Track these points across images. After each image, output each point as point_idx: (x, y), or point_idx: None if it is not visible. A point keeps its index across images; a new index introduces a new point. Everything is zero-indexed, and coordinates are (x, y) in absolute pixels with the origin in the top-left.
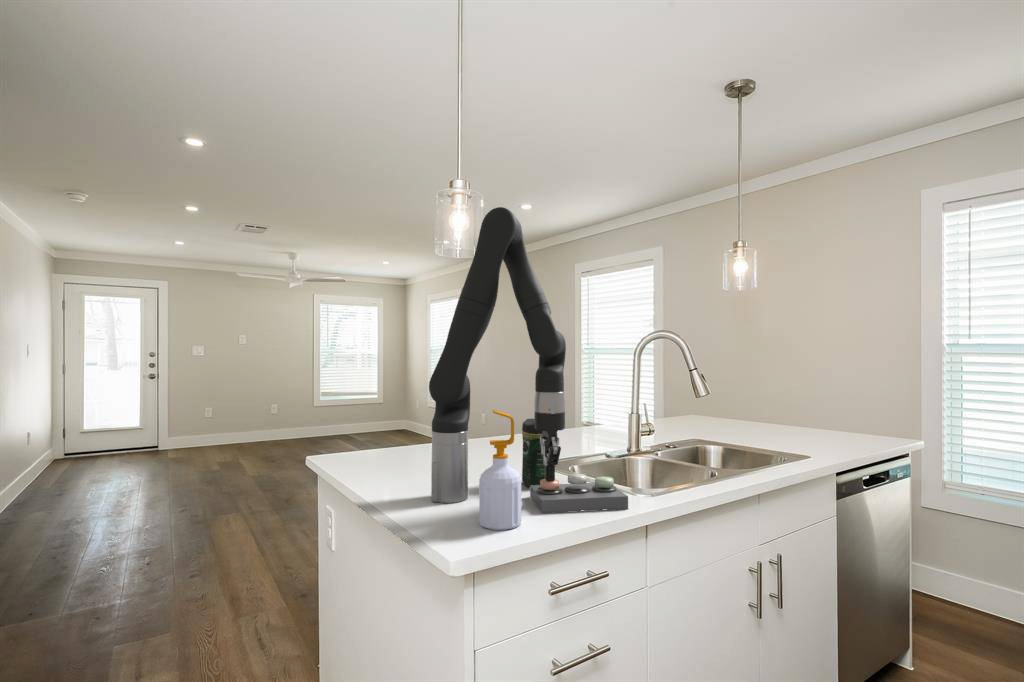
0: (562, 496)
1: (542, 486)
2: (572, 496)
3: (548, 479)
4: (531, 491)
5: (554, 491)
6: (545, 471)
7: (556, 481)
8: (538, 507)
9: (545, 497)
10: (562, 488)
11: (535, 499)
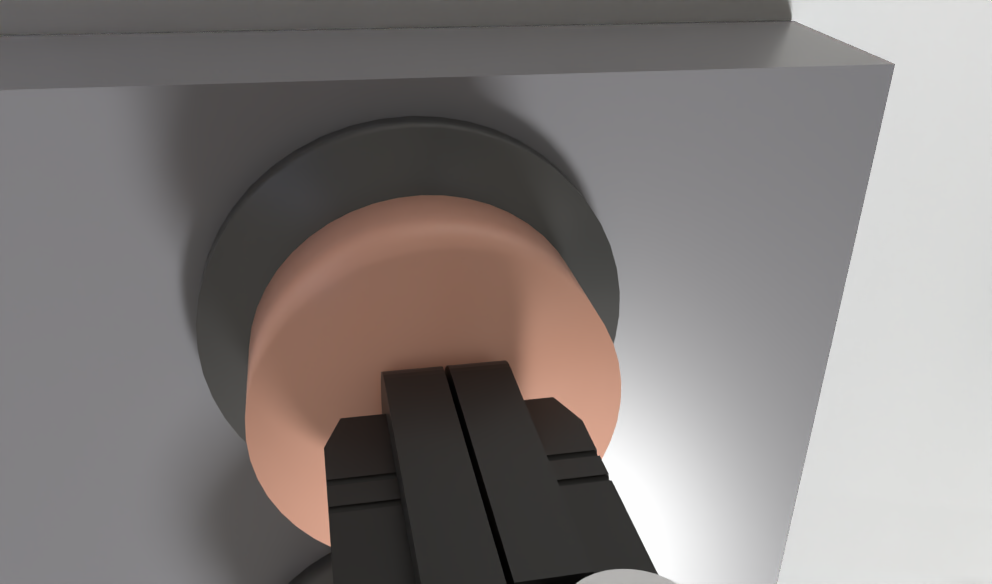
0: (98, 461)
1: (332, 240)
2: (99, 582)
3: (340, 424)
4: (742, 48)
5: None
6: (471, 476)
7: None
8: (162, 37)
9: (19, 196)
10: None
11: (407, 46)
